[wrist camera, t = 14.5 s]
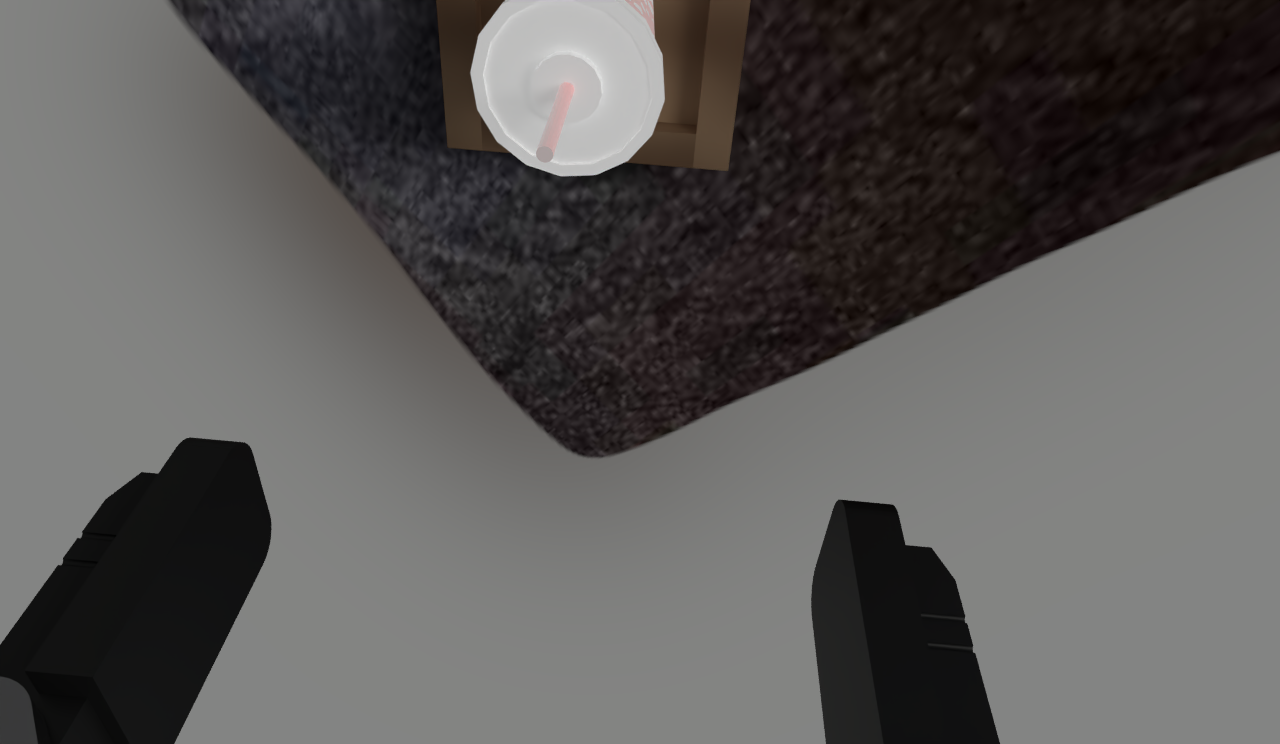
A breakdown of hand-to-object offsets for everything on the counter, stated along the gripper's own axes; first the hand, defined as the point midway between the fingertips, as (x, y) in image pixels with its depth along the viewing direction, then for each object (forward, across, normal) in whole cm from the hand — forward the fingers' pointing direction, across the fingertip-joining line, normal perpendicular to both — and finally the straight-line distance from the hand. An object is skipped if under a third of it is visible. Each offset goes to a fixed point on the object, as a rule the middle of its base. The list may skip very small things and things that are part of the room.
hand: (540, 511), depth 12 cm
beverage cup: (+28, +2, +1) cm, 28 cm away
